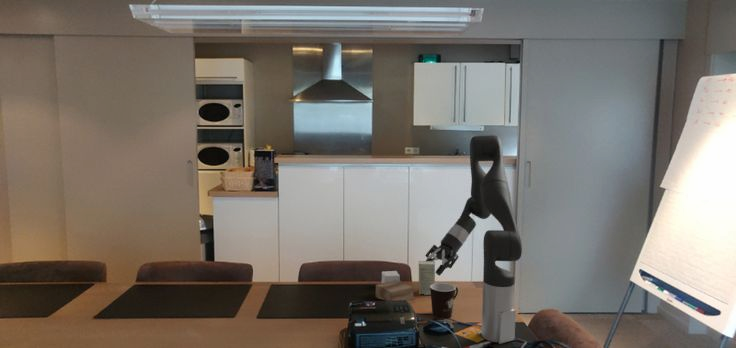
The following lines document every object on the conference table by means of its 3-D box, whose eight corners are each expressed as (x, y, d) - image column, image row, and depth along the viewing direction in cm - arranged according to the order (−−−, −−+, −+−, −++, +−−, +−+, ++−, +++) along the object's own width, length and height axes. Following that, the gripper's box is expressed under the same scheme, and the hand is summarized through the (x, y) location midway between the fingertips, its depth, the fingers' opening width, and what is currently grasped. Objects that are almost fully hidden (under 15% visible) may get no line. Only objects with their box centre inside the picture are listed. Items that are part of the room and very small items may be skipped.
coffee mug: (435, 321, 165) (436, 292, 164) (425, 312, 174) (426, 284, 172) (467, 318, 168) (468, 289, 167) (456, 309, 177) (457, 281, 176)
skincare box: (434, 291, 194) (435, 261, 193) (434, 295, 190) (435, 264, 189) (417, 290, 195) (418, 260, 194) (417, 294, 191) (418, 263, 189)
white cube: (381, 286, 200) (381, 271, 200) (396, 285, 202) (396, 270, 201) (384, 291, 195) (385, 276, 194) (399, 290, 196) (400, 275, 195)
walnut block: (413, 300, 185) (413, 287, 185) (391, 305, 180) (392, 292, 179) (396, 292, 194) (396, 280, 193) (375, 297, 188) (375, 284, 187)
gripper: (438, 229, 201) (414, 260, 197) (461, 236, 189) (436, 270, 185) (448, 240, 205) (425, 271, 200) (471, 248, 192) (447, 282, 188)
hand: (430, 271), depth 192 cm, fingers open, 8 cm apart
